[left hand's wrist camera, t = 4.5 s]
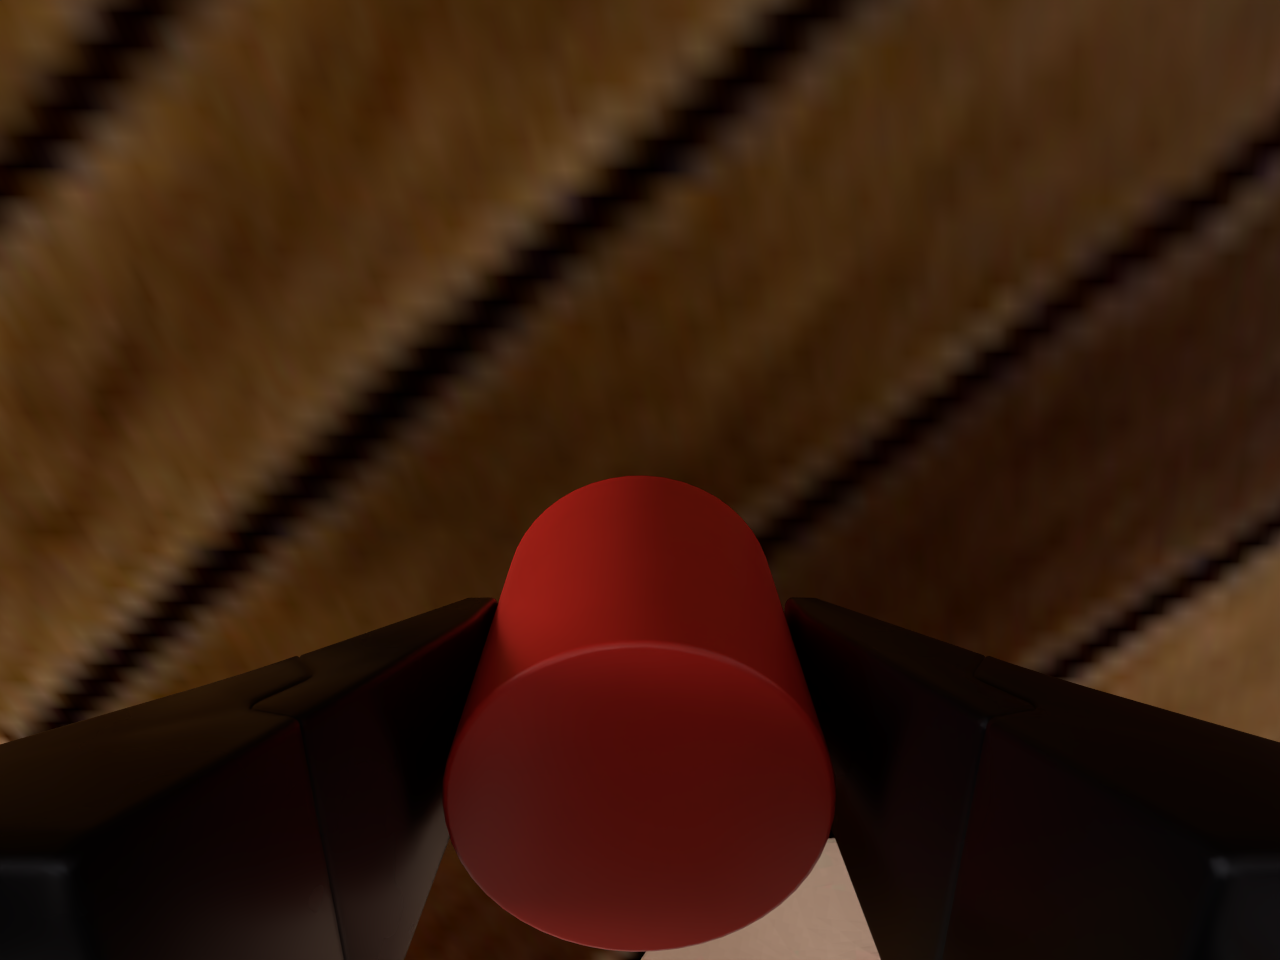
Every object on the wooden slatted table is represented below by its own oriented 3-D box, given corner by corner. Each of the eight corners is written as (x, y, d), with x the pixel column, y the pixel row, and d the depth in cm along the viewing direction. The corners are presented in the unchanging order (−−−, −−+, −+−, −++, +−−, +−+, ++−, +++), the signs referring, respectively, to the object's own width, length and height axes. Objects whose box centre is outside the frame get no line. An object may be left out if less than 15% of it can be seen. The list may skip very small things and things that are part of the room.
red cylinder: (608, 744, 13) (595, 1004, 9) (453, 567, 12) (357, 772, 8) (819, 625, 12) (908, 849, 8) (675, 421, 11) (695, 567, 7)
